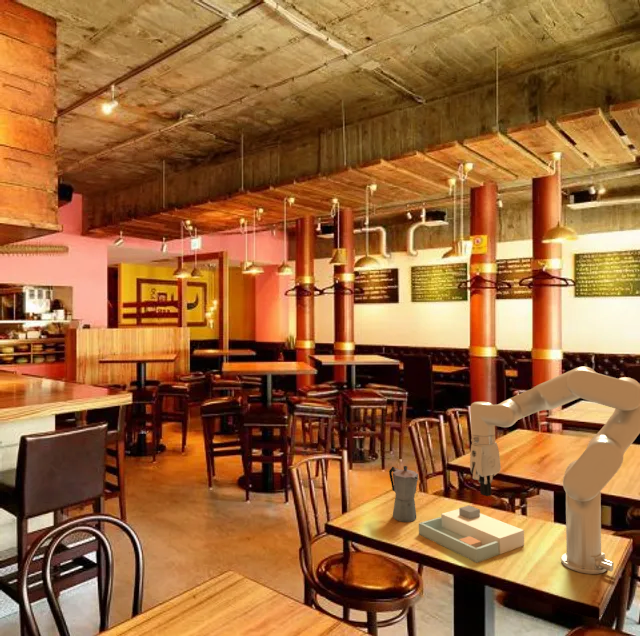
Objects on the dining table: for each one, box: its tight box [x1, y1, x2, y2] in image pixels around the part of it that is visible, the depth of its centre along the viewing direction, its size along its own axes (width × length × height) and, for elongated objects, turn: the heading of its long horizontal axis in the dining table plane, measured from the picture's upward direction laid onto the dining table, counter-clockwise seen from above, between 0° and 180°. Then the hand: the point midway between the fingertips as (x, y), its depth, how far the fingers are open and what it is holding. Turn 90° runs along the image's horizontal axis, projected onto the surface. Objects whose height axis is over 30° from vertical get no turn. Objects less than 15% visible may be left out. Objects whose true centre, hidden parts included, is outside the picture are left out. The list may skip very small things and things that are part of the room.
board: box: [440, 508, 525, 555], centre depth 184 cm, size 26×12×5 cm, turn 32°
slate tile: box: [458, 504, 481, 519], centre depth 189 cm, size 5×5×2 cm
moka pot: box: [388, 465, 419, 523], centre depth 202 cm, size 10×15×20 cm, turn 39°
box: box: [418, 516, 501, 563], centre depth 178 cm, size 26×11×4 cm, turn 32°
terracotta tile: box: [459, 536, 481, 548], centre depth 173 cm, size 5×5×2 cm
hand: (485, 494), depth 176 cm, fingers closed
